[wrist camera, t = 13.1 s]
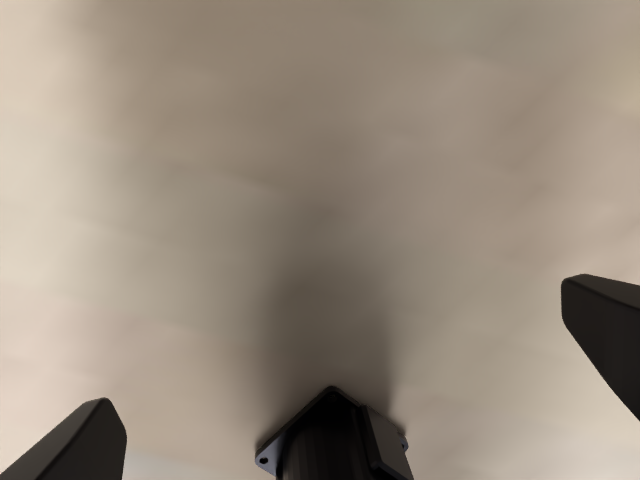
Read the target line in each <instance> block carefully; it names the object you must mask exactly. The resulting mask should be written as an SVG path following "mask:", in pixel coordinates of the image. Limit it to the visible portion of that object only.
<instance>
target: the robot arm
mask: <svg viewBox="0 0 640 480" xmlns="http://www.w3.org/2000/svg"><path fill="white" fill-rule="evenodd" d="M561 309H562V319H563V322H564V324H565V326H566V327H567V329H568V330H569V332H570V333H571V335H572V336H573V337H574V339H575V340H576V341H577V343H578V344H579V346H580V347H581V348H582V350H583V351H584V352H585V354H586V355H587V357H588V358H589V359H590V361H591V362H592V364H593V365H594V366H595V368H596V369H597V370H598V372H599V373H600V375H601V376H602V377H603V379H604V380H605V381H606V383H607V384H608V385H609V387H610V388H611V389H612V390H613V391H614V393H615V394H616V395H617V396H618V397H619V399H620V400H621V401H622V402H623V403H624V404H625V405H626V406H627V408H628V409H629V410H630V411H631V412H632V413H633V414H634V415H635V416H636V418H637V419H638V420H639V421H640V285H635V284H631V283H626V282H621V281H617V280H612V279H607V278H603V277H598V276H593V275H589V274H580V275H576V276H572V277H568V278H565V279H564V280H563V281H562V284H561ZM330 395H335V396H334V397H329V396H330ZM126 444H127V435H126V430H125V427H124V425H123V423H122V421H121V419H120V418H119V416H118V414H117V412H116V410H115V408H114V406H113V404H112V402H111V401H110V400H109V399H108V398H105V397H104V398H99V399H95V400H91V401H88V402H85V403H83V404H82V405H81V406H80V407H78V408H77V409H76V410H75V411H74V412H73V413H71V414H70V415H69V416H68V417H67V418H65V419H64V420H63V421H62V422H61V423H60V424H58V425H57V426H56V427H55V428H54V429H53V430H51V431H50V432H49V433H48V434H47V435H46V436H44V437H43V438H42V439H41V440H40V441H39V442H37V443H36V444H35V445H34V446H33V447H32V448H30V449H29V450H28V451H27V452H26V453H25V454H23V455H22V456H21V457H20V458H19V459H18V460H16V461H15V462H14V463H13V464H12V465H11V466H9V467H8V468H7V469H6V470H5V471H4V472H2V473H1V474H0V480H122V474H123V466H124V459H125V451H126ZM407 449H408V443H407V440H406V438H405V437H404V436H403V435H402V434H400V433H399V432H397V430H396V427H395V426H394V425H393V424H392V423H390V422H389V421H388V420H386V419H385V418H384V417H382V416H381V415H379V414H378V413H377V412H375V411H374V410H373V409H371V408H370V407H369V406H367V405H363V404H359V403H358V402H357V401H355V400H354V399H352V398H351V397H350V396H348V395H347V394H346V393H344V392H343V391H342V390H340V389H339V388H337V387H335V386H330V387H327V388H326V389H324V390H323V391H322V392H321V393H320V394H319V395H318V396H317V397H316V398H315V399H313V400H312V401H311V402H310V403H309V404H308V405H307V406H306V407H305V408H304V409H303V410H301V411H300V412H299V413H298V414H297V415H296V416H295V417H294V418H293V419H292V420H290V421H289V422H288V423H287V424H286V425H285V426H284V427H283V428H282V429H281V430H280V431H278V432H277V433H276V434H275V435H274V436H273V437H272V438H271V439H270V440H269V441H267V442H266V443H265V444H264V445H263V446H262V447H261V448H260V449H259V450H258V451H257V452H256V453H255V463H256V465H257V466H259V467H260V468H262V469H264V470H265V471H267V472H269V473H270V474H272V475H274V476H275V477H276V480H414V478H413V475H412V472H411V469H410V467H409V464H408V461H407V458H406V455H405V451H406V450H407ZM262 457H266V458H262Z"/></svg>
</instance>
